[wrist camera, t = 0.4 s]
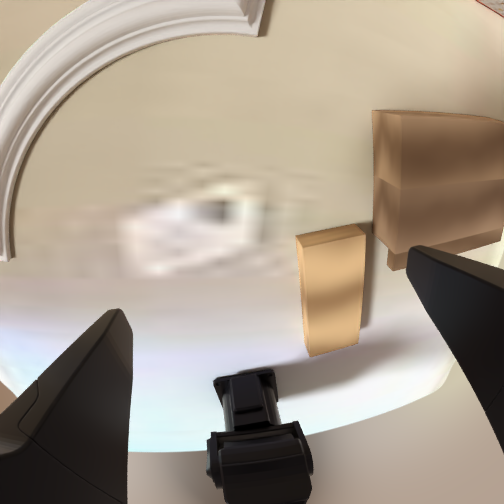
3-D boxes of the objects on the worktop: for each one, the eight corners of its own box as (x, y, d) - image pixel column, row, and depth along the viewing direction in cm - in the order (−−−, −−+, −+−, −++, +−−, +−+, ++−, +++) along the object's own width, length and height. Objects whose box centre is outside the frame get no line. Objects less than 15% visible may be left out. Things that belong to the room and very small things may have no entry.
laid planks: (477, 224, 26) (500, 240, 22) (371, 248, 25) (392, 271, 21) (487, 117, 20) (516, 125, 17) (371, 110, 19) (400, 115, 16)
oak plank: (349, 327, 30) (358, 343, 28) (303, 340, 29) (309, 357, 27) (352, 221, 24) (365, 234, 22) (294, 233, 24) (302, 247, 21)
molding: (253, -104, 9) (259, -122, 7) (347, -4, 15) (365, -15, 12) (-75, 218, 16) (-90, 229, 14) (-14, 298, 22) (-26, 314, 20)
